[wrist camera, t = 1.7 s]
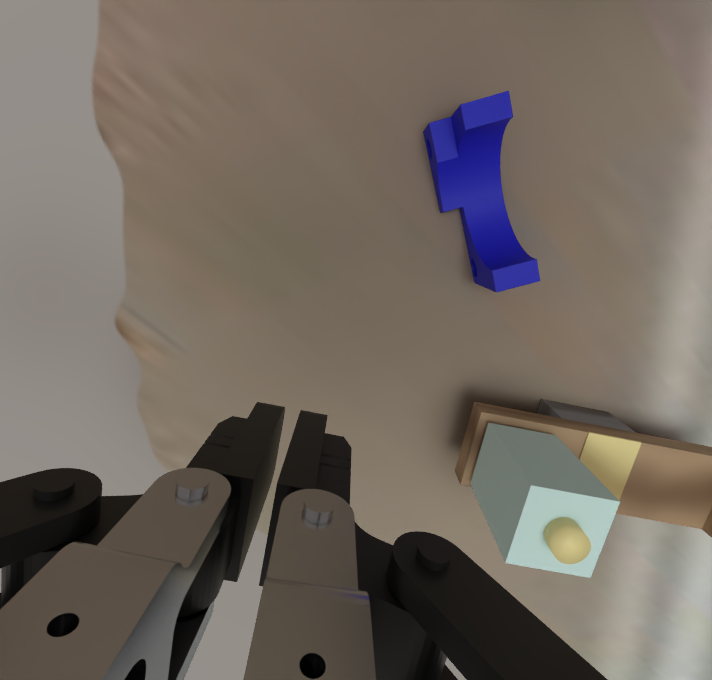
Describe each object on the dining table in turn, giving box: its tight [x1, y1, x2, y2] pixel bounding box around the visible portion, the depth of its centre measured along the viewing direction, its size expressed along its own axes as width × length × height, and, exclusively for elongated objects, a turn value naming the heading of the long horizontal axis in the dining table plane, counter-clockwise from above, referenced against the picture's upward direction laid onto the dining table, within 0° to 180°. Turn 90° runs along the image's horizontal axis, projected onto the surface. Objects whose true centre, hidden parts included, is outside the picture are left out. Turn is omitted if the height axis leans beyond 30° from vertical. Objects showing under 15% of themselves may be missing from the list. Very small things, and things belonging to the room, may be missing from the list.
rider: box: [470, 422, 620, 578], centre depth 28 cm, size 5×5×9 cm
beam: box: [455, 399, 712, 537], centre depth 35 cm, size 6×20×7 cm, turn 79°
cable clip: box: [423, 91, 540, 292], centre depth 31 cm, size 12×4×6 cm, turn 15°
